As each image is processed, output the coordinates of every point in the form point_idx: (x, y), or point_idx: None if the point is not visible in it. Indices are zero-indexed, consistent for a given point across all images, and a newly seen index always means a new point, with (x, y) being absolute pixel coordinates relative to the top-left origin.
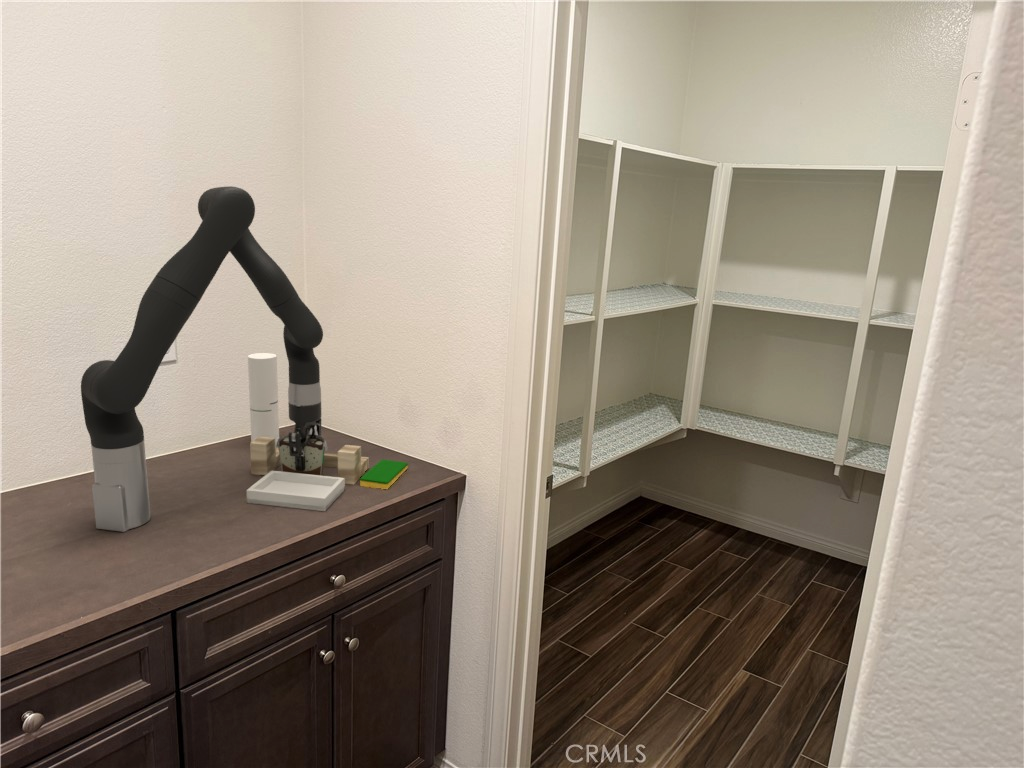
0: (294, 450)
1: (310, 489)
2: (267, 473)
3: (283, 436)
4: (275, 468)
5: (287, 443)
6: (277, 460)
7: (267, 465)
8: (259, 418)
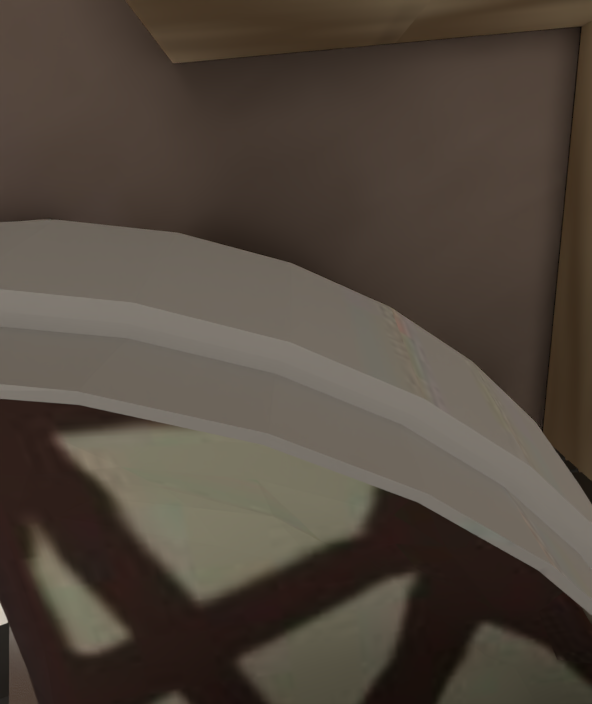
0: (13, 678)
1: (3, 621)
2: (183, 56)
3: (185, 419)
4: (378, 42)
5: (4, 601)
6: (459, 10)
7: (169, 23)
8: None
